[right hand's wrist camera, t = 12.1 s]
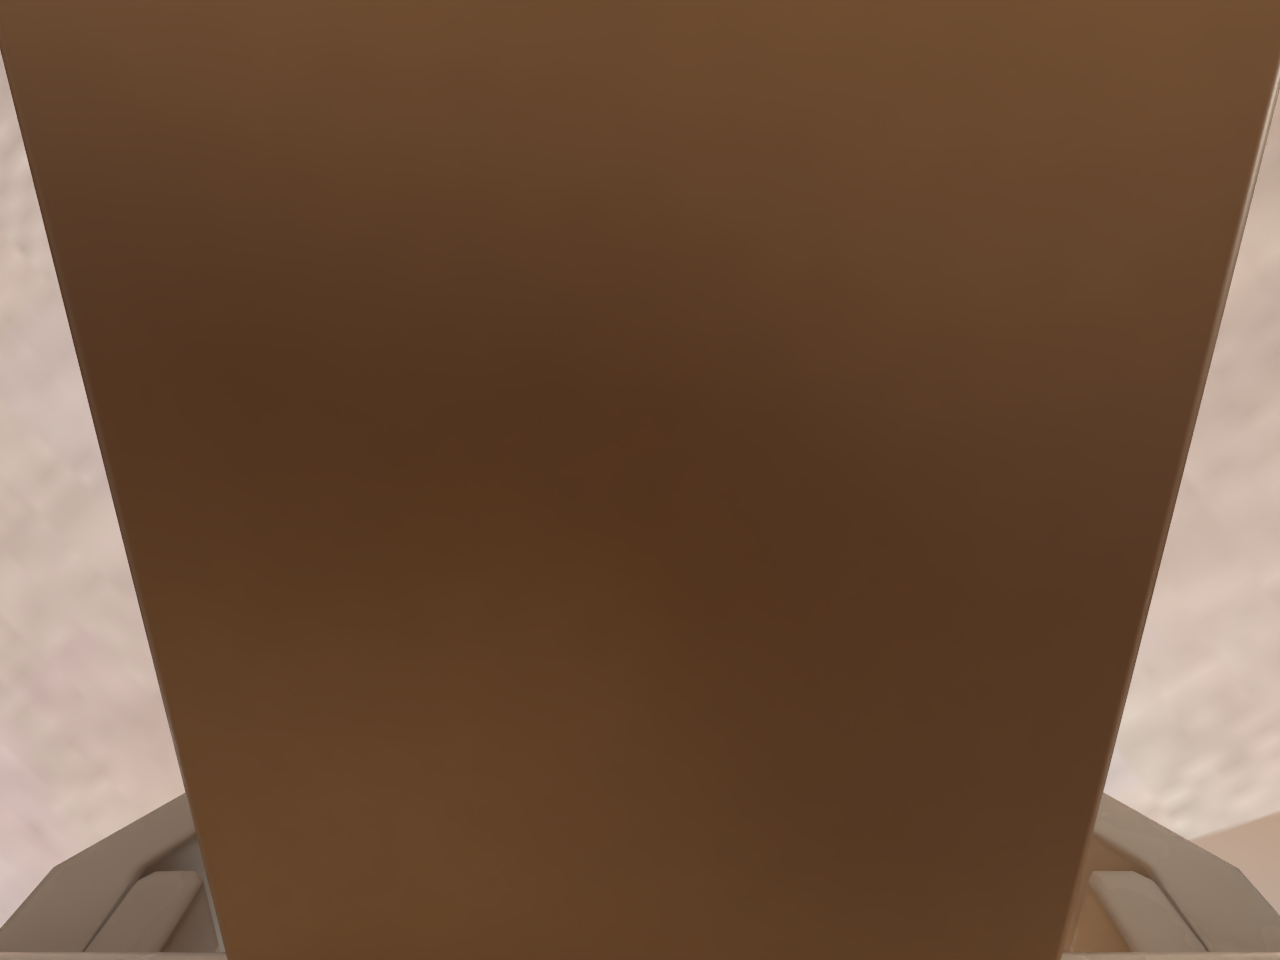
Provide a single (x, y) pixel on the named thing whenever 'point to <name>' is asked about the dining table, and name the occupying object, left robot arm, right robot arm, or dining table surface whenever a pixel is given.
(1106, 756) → the bar
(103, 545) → the dining table surface
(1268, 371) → the dining table surface
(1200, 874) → the right robot arm
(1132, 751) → the dining table surface
